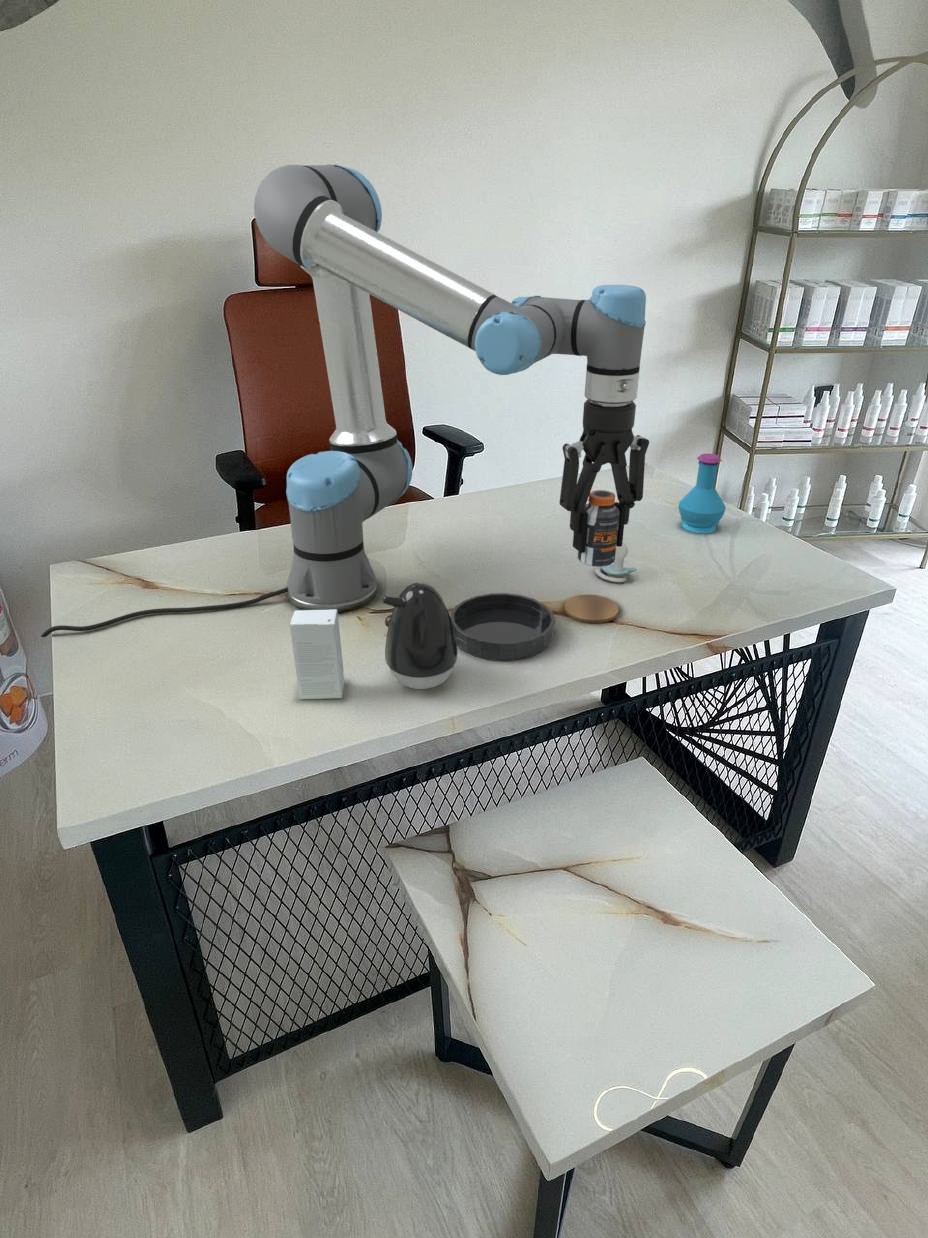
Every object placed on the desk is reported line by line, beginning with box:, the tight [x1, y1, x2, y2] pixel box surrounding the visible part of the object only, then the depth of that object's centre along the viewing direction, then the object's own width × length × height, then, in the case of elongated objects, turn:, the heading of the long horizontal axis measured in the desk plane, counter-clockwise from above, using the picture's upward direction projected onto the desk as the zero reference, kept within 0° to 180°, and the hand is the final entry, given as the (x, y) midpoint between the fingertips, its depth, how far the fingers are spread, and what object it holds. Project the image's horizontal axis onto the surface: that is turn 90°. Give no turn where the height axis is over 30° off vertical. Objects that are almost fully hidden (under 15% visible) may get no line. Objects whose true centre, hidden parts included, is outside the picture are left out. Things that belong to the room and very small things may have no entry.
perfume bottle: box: [678, 453, 726, 534], centre depth 161 cm, size 9×9×15 cm
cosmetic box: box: [289, 609, 345, 700], centre depth 110 cm, size 6×4×12 cm
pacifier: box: [594, 542, 638, 583], centre depth 143 cm, size 7×6×6 cm
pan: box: [449, 592, 556, 662], centre depth 126 cm, size 16×16×3 cm
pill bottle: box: [577, 489, 620, 568], centre depth 126 cm, size 6×6×11 cm
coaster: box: [563, 594, 620, 624], centre depth 134 cm, size 9×9×1 cm
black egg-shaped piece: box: [381, 582, 458, 690], centre depth 112 cm, size 10×10×15 cm
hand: (597, 546), depth 128 cm, fingers closed on pill bottle, 6 cm apart
